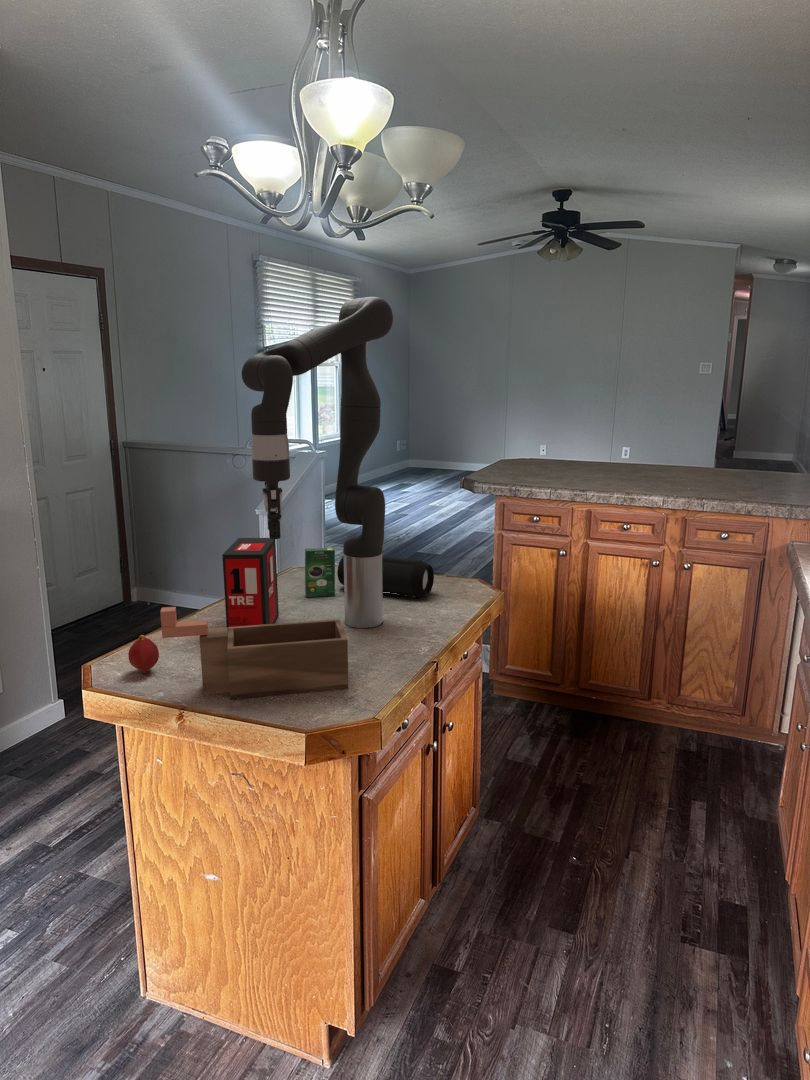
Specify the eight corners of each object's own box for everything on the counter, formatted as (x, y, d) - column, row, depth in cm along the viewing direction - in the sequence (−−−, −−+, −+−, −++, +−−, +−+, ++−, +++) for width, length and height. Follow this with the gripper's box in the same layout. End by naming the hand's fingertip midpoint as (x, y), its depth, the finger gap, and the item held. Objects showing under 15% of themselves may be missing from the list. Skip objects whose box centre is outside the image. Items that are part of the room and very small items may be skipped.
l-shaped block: (163, 632, 137) (161, 607, 136) (207, 629, 139) (206, 604, 138) (162, 638, 134) (160, 612, 133) (207, 634, 136) (205, 609, 135)
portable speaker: (435, 593, 200) (435, 557, 198) (420, 603, 191) (420, 566, 189) (353, 582, 210) (352, 548, 208) (336, 591, 202) (335, 556, 199)
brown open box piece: (205, 676, 145) (201, 623, 143) (340, 664, 151) (339, 613, 148) (202, 702, 134) (198, 645, 131) (348, 688, 139) (347, 633, 137)
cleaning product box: (242, 616, 181) (238, 537, 176) (278, 616, 181) (275, 537, 177) (227, 640, 165) (222, 554, 160) (266, 640, 165) (262, 554, 160)
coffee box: (334, 593, 200) (333, 546, 197) (336, 596, 197) (335, 549, 194) (305, 595, 198) (303, 548, 195) (306, 598, 196) (304, 550, 193)
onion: (130, 668, 149) (126, 631, 147) (159, 664, 151) (156, 628, 149) (130, 679, 144) (126, 641, 142) (160, 675, 146) (157, 637, 144)
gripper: (291, 460, 142) (294, 541, 146) (287, 452, 156) (290, 526, 160) (252, 461, 141) (256, 542, 144) (251, 453, 154) (255, 528, 158)
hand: (274, 534), depth 152 cm, fingers open, 8 cm apart
